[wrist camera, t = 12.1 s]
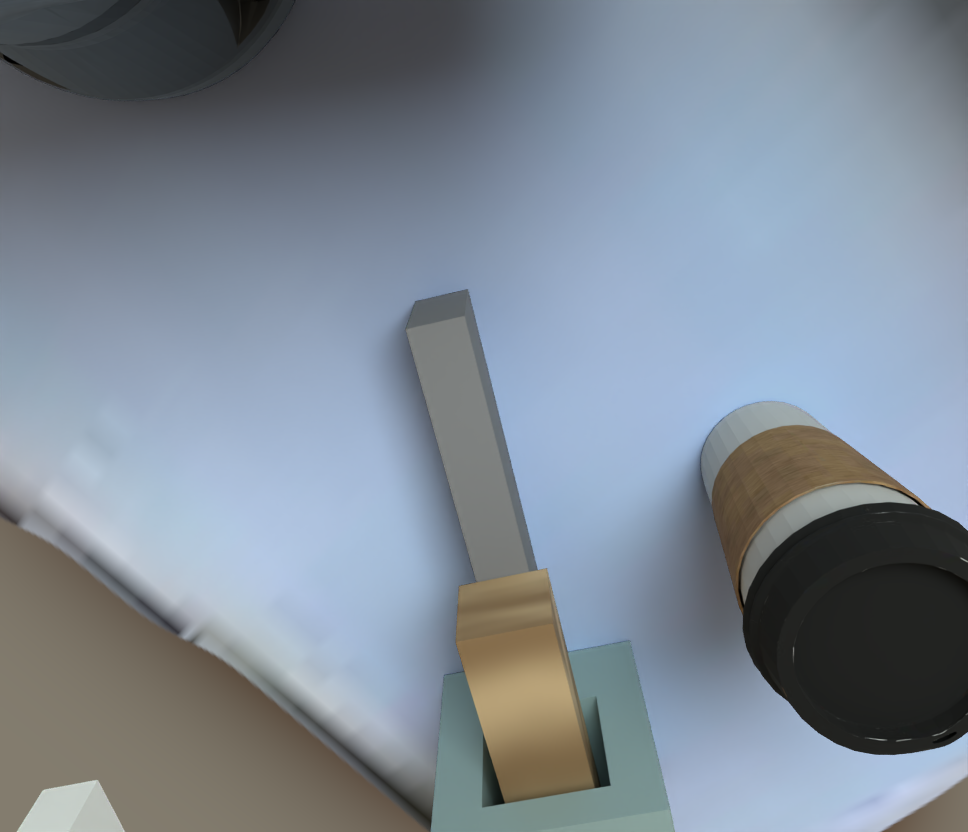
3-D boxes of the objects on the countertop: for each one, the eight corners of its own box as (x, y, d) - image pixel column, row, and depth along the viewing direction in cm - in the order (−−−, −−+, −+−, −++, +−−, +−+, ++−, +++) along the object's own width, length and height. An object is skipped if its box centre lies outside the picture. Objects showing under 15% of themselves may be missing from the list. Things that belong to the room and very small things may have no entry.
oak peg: (458, 585, 38) (455, 642, 34) (546, 568, 38) (553, 623, 34) (526, 814, 43) (530, 884, 39) (604, 800, 43) (615, 870, 39)
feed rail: (415, 301, 38) (405, 329, 34) (467, 289, 38) (464, 315, 33) (492, 583, 43) (492, 637, 39) (538, 574, 43) (543, 627, 39)
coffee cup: (724, 564, 43) (832, 802, 29) (641, 433, 40) (717, 626, 26) (881, 482, 41) (1079, 695, 27) (805, 340, 38) (981, 494, 24)
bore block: (444, 675, 45) (429, 849, 35) (630, 640, 44) (670, 809, 34) (479, 787, 48) (474, 978, 38) (654, 757, 47) (698, 945, 37)
